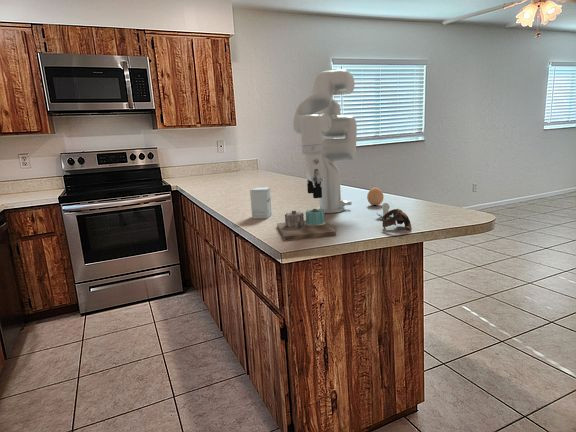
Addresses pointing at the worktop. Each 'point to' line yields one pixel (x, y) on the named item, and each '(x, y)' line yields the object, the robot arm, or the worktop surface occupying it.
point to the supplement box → (260, 202)
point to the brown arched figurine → (396, 218)
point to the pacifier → (384, 211)
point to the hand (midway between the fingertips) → (314, 195)
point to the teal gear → (315, 217)
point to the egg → (375, 196)
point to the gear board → (302, 227)
